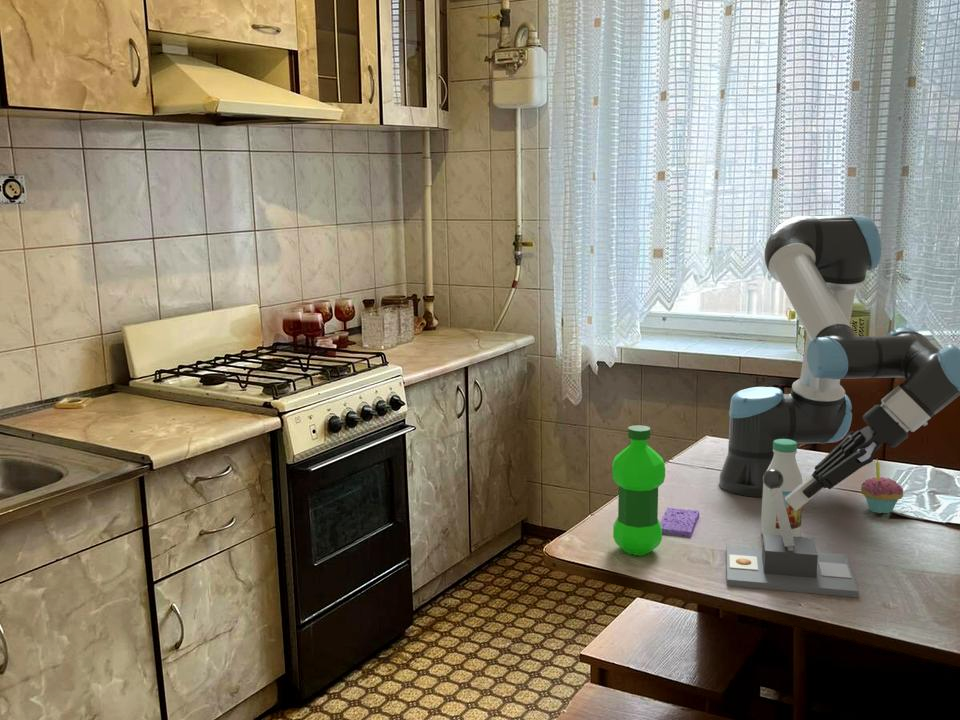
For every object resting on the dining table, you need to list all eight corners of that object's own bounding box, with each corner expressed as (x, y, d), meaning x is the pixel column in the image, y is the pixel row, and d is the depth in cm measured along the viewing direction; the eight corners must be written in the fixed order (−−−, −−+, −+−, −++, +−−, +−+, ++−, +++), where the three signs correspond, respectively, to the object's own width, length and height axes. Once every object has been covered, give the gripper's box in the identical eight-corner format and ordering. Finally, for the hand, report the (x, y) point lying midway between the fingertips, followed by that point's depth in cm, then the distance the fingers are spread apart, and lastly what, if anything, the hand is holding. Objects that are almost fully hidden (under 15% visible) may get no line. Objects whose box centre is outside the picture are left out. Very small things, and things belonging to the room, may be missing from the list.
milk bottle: (759, 540, 184) (764, 445, 180) (761, 526, 191) (766, 434, 187) (799, 544, 181) (805, 448, 177) (800, 530, 188) (805, 437, 184)
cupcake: (881, 519, 194) (885, 465, 191) (850, 506, 201) (854, 454, 199) (910, 512, 197) (914, 459, 195) (879, 500, 205) (883, 449, 202)
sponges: (699, 518, 197) (699, 510, 197) (691, 539, 186) (691, 531, 186) (666, 514, 200) (667, 506, 200) (656, 535, 188) (656, 527, 188)
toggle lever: (797, 532, 169) (780, 463, 168) (800, 544, 164) (782, 472, 162) (777, 536, 171) (760, 467, 169) (779, 547, 165) (761, 476, 164)
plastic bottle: (641, 536, 187) (643, 418, 182) (674, 554, 177) (677, 431, 172) (600, 545, 182) (601, 425, 177) (632, 565, 173) (634, 438, 168)
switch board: (845, 560, 173) (847, 530, 172) (857, 597, 158) (860, 564, 157) (726, 550, 179) (727, 521, 178) (727, 585, 164) (728, 553, 162)
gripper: (918, 443, 152) (809, 532, 159) (902, 424, 164) (801, 506, 171) (886, 411, 152) (778, 501, 159) (872, 394, 165) (772, 478, 172)
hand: (790, 504), depth 165 cm, fingers closed
